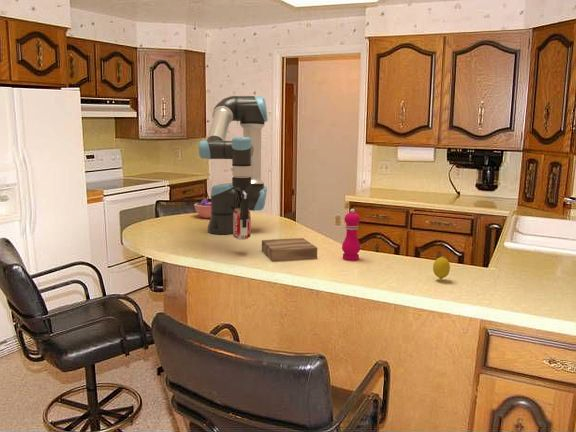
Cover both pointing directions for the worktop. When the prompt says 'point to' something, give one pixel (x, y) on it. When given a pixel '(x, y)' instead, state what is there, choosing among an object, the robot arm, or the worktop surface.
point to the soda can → (237, 225)
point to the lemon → (441, 267)
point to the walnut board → (289, 249)
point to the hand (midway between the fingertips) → (241, 233)
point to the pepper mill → (351, 237)
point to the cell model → (203, 209)
